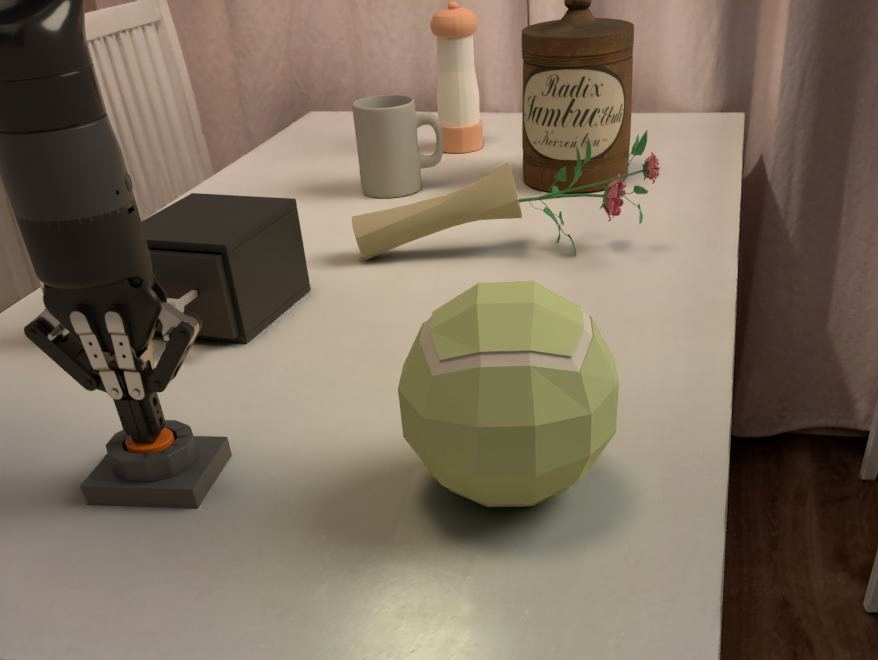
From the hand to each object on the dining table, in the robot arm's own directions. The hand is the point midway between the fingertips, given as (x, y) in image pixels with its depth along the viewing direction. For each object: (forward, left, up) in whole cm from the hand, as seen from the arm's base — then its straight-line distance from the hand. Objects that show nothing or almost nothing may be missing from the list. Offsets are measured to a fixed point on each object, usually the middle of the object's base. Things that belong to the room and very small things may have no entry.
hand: (148, 437), depth 71 cm
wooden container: (+29, +82, -4) cm, 87 cm away
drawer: (-7, +30, -3) cm, 31 cm away
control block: (0, 0, -4) cm, 4 cm away
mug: (+5, +78, -4) cm, 78 cm away
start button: (0, 0, -2) cm, 2 cm away
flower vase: (+22, +52, -4) cm, 57 cm away
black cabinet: (-6, +34, -4) cm, 35 cm away
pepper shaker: (+10, +100, -4) cm, 101 cm away
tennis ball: (+28, 0, -4) cm, 28 cm away
